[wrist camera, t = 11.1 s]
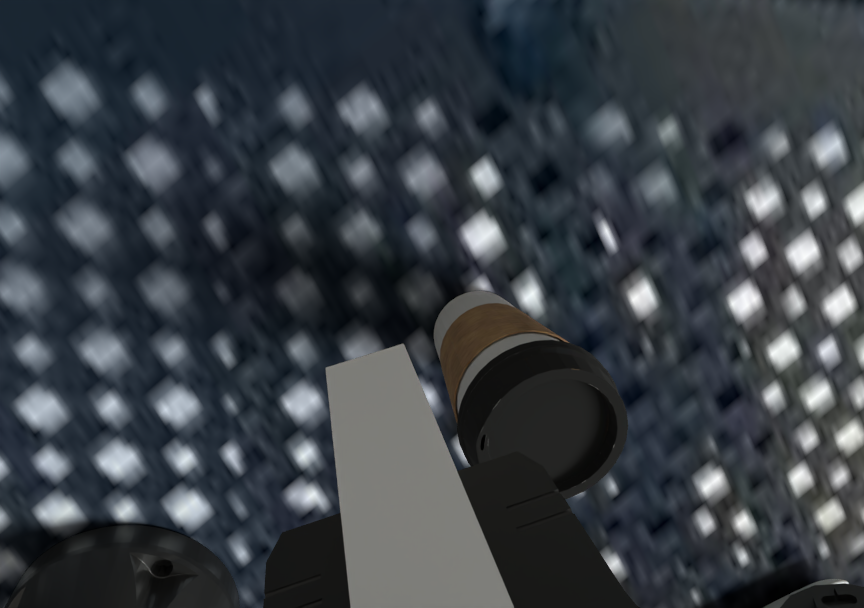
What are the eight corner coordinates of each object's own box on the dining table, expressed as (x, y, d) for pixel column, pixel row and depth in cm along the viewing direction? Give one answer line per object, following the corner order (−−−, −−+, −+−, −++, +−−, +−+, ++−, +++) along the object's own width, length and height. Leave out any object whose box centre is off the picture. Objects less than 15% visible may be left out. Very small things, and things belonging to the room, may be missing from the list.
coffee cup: (422, 268, 42) (483, 357, 28) (543, 276, 44) (656, 363, 30) (408, 385, 45) (458, 520, 31) (523, 388, 47) (620, 516, 33)
